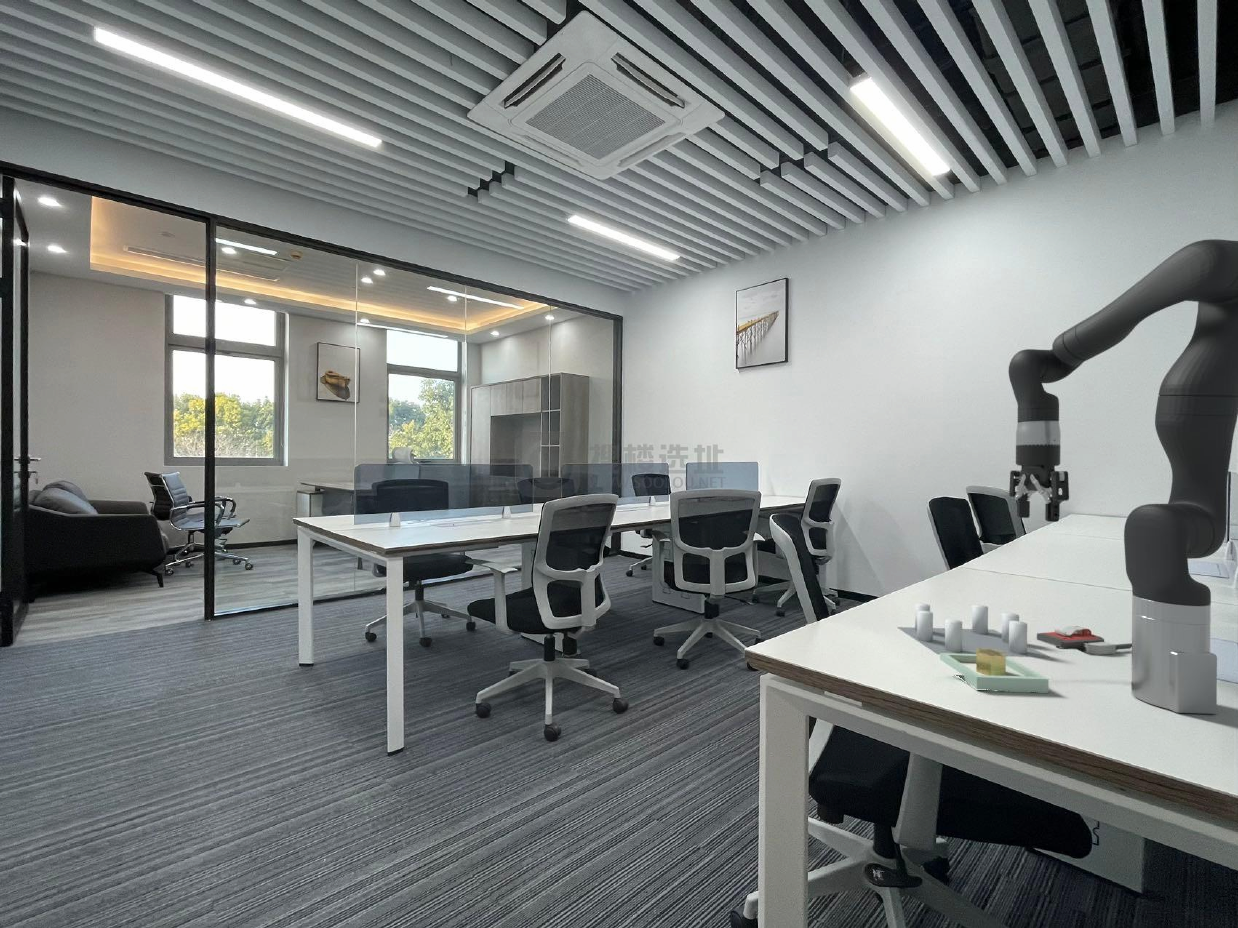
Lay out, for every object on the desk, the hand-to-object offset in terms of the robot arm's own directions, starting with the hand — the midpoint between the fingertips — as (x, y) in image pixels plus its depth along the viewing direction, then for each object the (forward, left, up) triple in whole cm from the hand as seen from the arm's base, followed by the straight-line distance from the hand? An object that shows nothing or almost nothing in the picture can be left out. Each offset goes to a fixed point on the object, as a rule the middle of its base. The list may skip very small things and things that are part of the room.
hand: (1037, 519), depth 114 cm
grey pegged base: (+2, +13, -28) cm, 31 cm away
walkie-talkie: (+3, -13, -29) cm, 32 cm away
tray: (-16, +19, -28) cm, 38 cm away
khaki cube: (-16, +19, -27) cm, 37 cm away
